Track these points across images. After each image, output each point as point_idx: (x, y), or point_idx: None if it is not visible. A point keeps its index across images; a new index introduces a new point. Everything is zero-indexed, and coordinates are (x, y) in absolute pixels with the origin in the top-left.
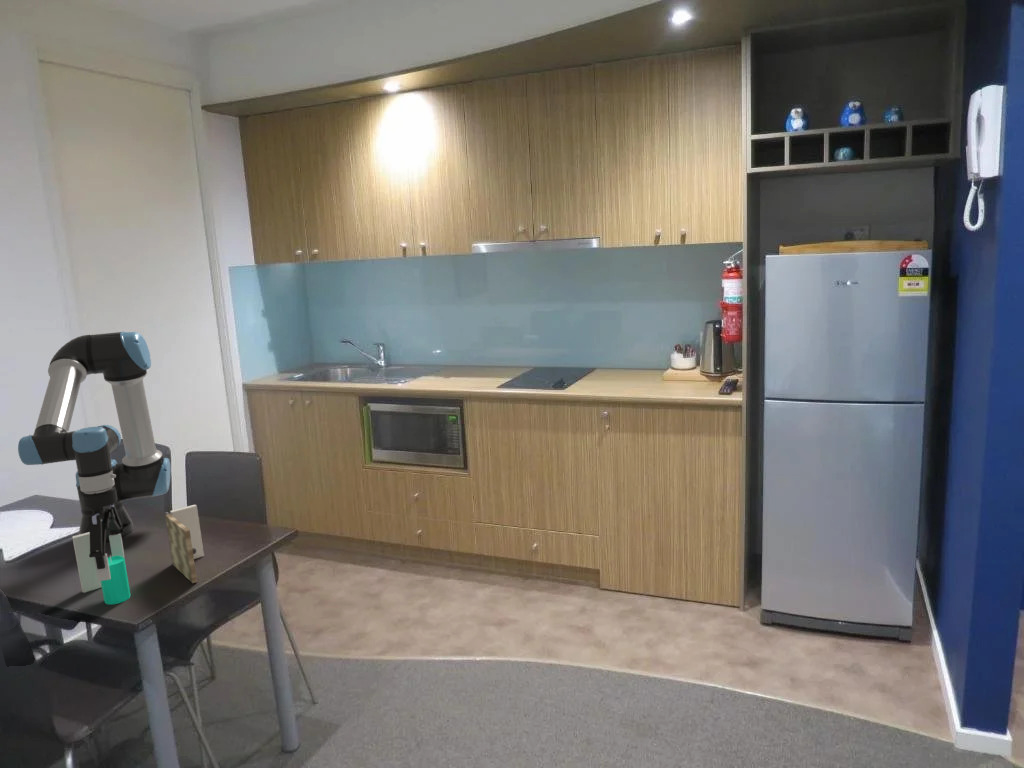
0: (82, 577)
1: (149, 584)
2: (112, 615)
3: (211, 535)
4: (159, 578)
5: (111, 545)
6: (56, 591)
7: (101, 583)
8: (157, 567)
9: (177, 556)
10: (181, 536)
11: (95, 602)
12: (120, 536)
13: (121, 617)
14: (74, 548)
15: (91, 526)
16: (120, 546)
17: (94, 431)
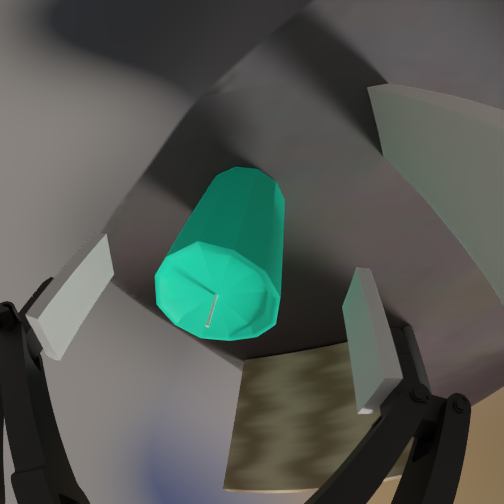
0: (388, 99)
1: (308, 283)
2: (130, 203)
3: (487, 368)
4: (336, 303)
5: (369, 329)
6: (430, 8)
7: (216, 197)
8: (419, 296)
9: (347, 377)
10: (269, 463)
11: (250, 136)
12: (357, 403)
13: (114, 226)
14: (492, 109)
15: None
16: (353, 348)
17: None
